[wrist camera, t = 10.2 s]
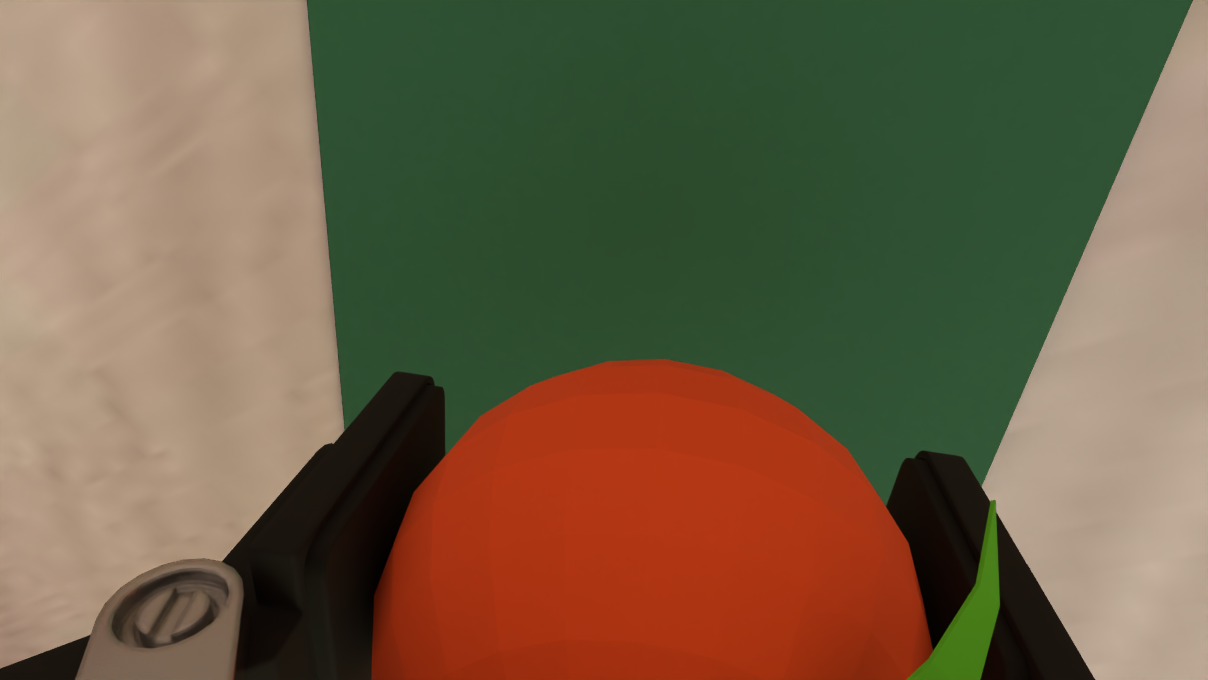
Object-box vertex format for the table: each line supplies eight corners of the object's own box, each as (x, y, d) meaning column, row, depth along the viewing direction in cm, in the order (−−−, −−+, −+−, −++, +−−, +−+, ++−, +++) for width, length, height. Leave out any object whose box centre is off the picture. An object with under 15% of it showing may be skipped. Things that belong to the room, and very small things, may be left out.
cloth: (354, 487, 26) (349, 493, 26) (294, -230, 17) (285, -235, 16) (933, 581, 25) (937, 590, 24) (1246, -146, 15) (1258, -149, 15)
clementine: (735, 140, 10) (811, 392, 3) (1003, 459, 11) (1403, 1045, 5) (393, 439, 13) (83, 872, 6) (644, 656, 14) (600, 1175, 8)
